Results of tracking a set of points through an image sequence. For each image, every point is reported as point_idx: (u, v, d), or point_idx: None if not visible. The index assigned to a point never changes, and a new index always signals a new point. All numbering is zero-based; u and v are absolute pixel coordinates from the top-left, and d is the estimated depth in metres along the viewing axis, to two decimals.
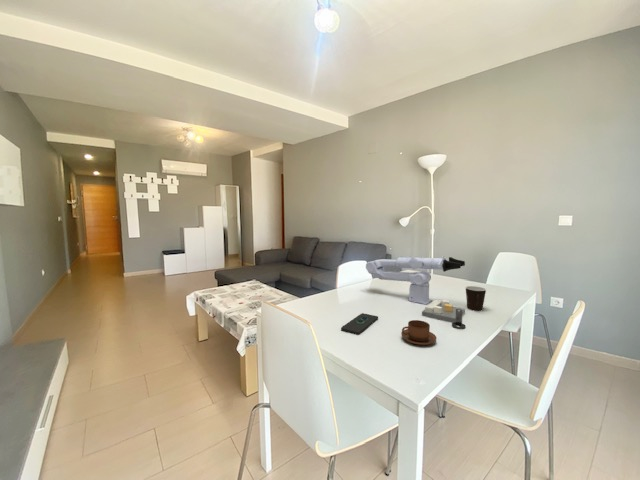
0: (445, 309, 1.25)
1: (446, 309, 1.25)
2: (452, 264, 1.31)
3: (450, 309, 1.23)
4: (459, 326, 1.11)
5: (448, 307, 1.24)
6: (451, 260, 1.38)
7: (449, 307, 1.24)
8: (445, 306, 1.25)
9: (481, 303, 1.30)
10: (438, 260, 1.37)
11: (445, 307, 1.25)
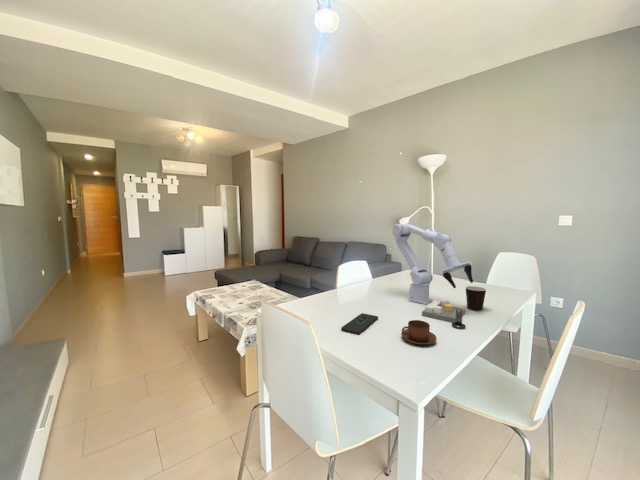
0: (445, 309, 1.25)
1: (446, 309, 1.25)
2: None
3: (450, 309, 1.23)
4: (459, 326, 1.11)
5: (448, 307, 1.24)
6: (466, 269, 1.26)
7: (449, 307, 1.24)
8: (445, 306, 1.25)
9: (481, 303, 1.30)
10: (449, 264, 1.28)
11: (445, 307, 1.25)
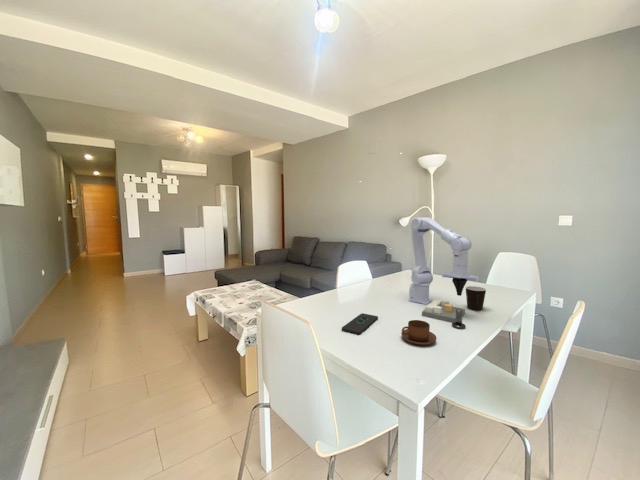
0: (445, 309, 1.25)
1: (446, 309, 1.25)
2: None
3: (450, 309, 1.23)
4: (459, 326, 1.11)
5: (448, 307, 1.24)
6: None
7: (449, 307, 1.24)
8: (445, 306, 1.25)
9: (481, 303, 1.30)
10: (454, 272, 1.23)
11: (445, 307, 1.25)
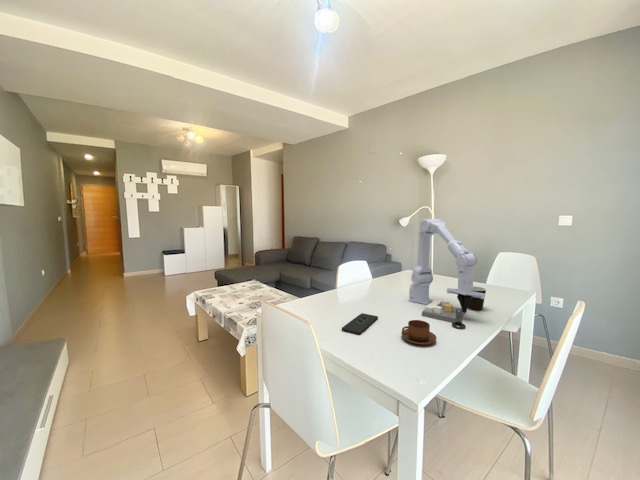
0: (445, 309, 1.25)
1: (446, 309, 1.25)
2: None
3: (450, 309, 1.23)
4: (459, 326, 1.11)
5: (448, 307, 1.24)
6: None
7: (449, 307, 1.24)
8: (445, 306, 1.25)
9: (481, 303, 1.30)
10: (459, 288, 1.20)
11: (445, 307, 1.25)
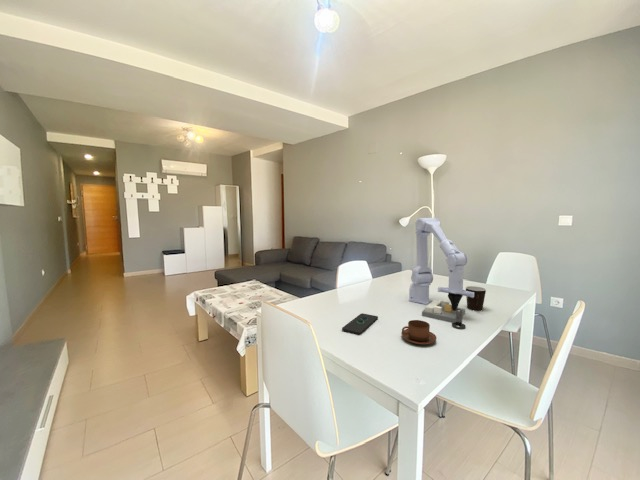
0: (445, 309, 1.25)
1: (446, 309, 1.25)
2: None
3: (450, 309, 1.23)
4: (459, 326, 1.11)
5: (448, 307, 1.24)
6: None
7: (449, 307, 1.24)
8: (445, 306, 1.25)
9: (481, 303, 1.30)
10: (449, 287, 1.22)
11: (445, 307, 1.25)
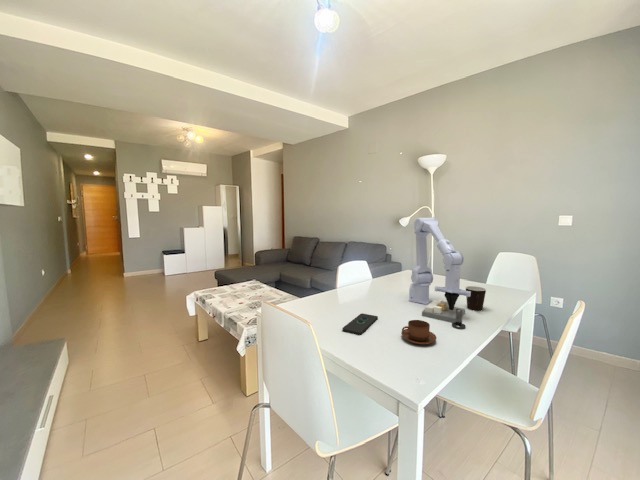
0: None
1: None
2: None
3: (443, 308, 1.25)
4: (459, 326, 1.11)
5: (441, 306, 1.26)
6: None
7: (442, 306, 1.26)
8: (438, 305, 1.27)
9: (481, 303, 1.30)
10: (446, 286, 1.23)
11: None
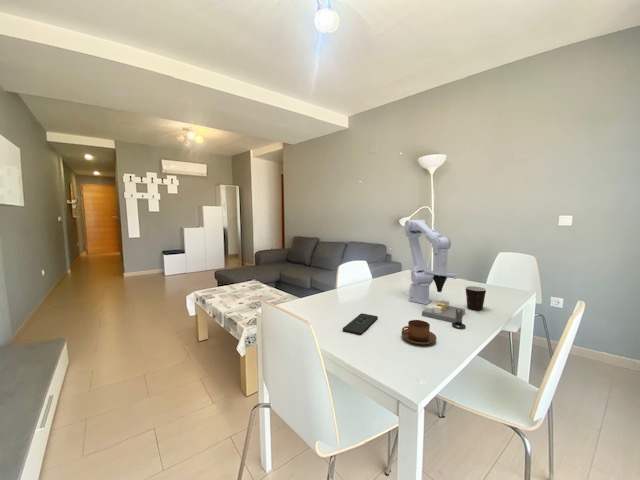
0: None
1: None
2: None
3: (443, 308, 1.25)
4: (459, 326, 1.11)
5: (441, 306, 1.26)
6: None
7: (442, 306, 1.26)
8: (438, 305, 1.27)
9: (481, 303, 1.30)
10: (434, 270, 1.29)
11: None
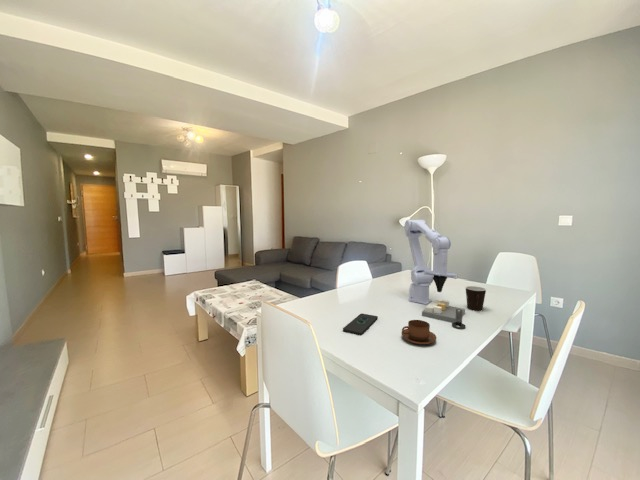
0: None
1: None
2: None
3: (443, 308, 1.25)
4: (459, 326, 1.11)
5: (441, 306, 1.26)
6: None
7: (442, 306, 1.26)
8: (438, 305, 1.27)
9: (481, 303, 1.30)
10: (434, 270, 1.29)
11: None
